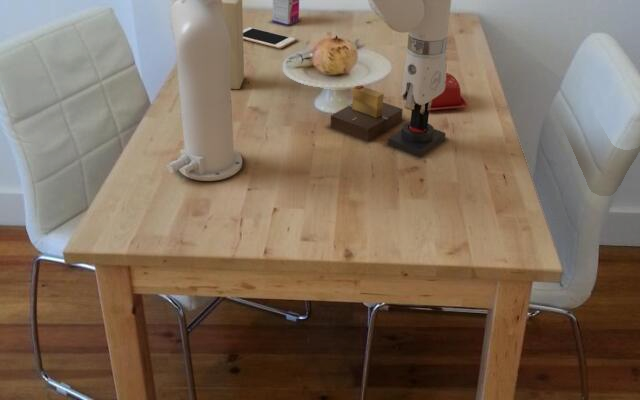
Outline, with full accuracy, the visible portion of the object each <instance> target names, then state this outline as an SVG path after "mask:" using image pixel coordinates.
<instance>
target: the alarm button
mask: <svg viewBox="0 0 640 400" xmlns="http://www.w3.org/2000/svg"><path fill="white" fill-rule="evenodd" d="M426 129H427V128H426ZM426 129H424V130H423V131H422V130H419V129H416V128H413V127H411V126H409V130H410V131H413V132H417V133H421V132H426Z"/></svg>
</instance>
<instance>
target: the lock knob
mask: <svg viewBox="0 0 640 400" xmlns="http://www.w3.org/2000/svg"><path fill="white" fill-rule="evenodd" d="M360 85H361V86H358V85H355V87H353V88H352V104H353V107H352V109H353V110H356V111H359V112H362V113H364V114H367V115H370V116H373V117H375V118H377V117H379V116H380V115H382V109H383V102H384V96H385V95H384V94H385V93H383V92H381V91H378V90H375V89H371V88H369V87H365V86H364V85H362V84H360Z"/></svg>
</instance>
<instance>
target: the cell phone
mask: <svg viewBox="0 0 640 400" xmlns="http://www.w3.org/2000/svg"><path fill="white" fill-rule="evenodd" d="M296 39H297V38H296V37H292V36H289V35H284V34H281V33H280V34H279V33H276V32H272V31H267V30H264V29H260V28H255V27H250V26H249V27H245V28H243V40H245V41H248V42H254V43H257V44H261V45H264V46H265V45H266V46H269V47H272V48H277V49H283V48H285V47H286V46H287V47H288V46H289V45H290V44H292V43H294V42H296Z"/></svg>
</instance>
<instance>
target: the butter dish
mask: <svg viewBox="0 0 640 400" xmlns="http://www.w3.org/2000/svg"><path fill="white" fill-rule="evenodd" d="M461 94H462V93H461V85H460V83H459V81H458V80H457V79H456V78H455V76H454V75H453V74H451V73H449V72H446V84H445V90H444V92H443V93H442V94H440V95H439V96H437V97H436V98H434V99H432V103H431V108H430V110H429V111H436V110H448V109H459V108H460V109H462V108H467V107H468V103H467V101H466V100H465V99H464V98H463V96H462V95H461Z"/></svg>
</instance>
